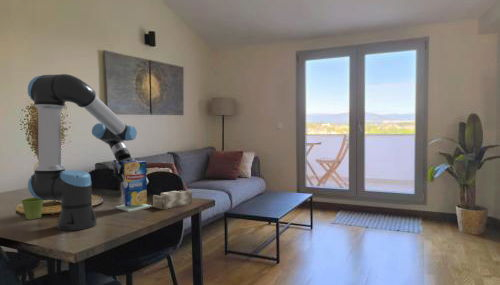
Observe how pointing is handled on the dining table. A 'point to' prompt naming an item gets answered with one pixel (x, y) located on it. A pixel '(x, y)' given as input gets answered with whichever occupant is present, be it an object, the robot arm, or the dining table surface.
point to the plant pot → (32, 207)
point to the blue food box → (134, 183)
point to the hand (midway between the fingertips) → (137, 184)
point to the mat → (133, 207)
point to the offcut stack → (168, 193)
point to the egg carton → (172, 200)
